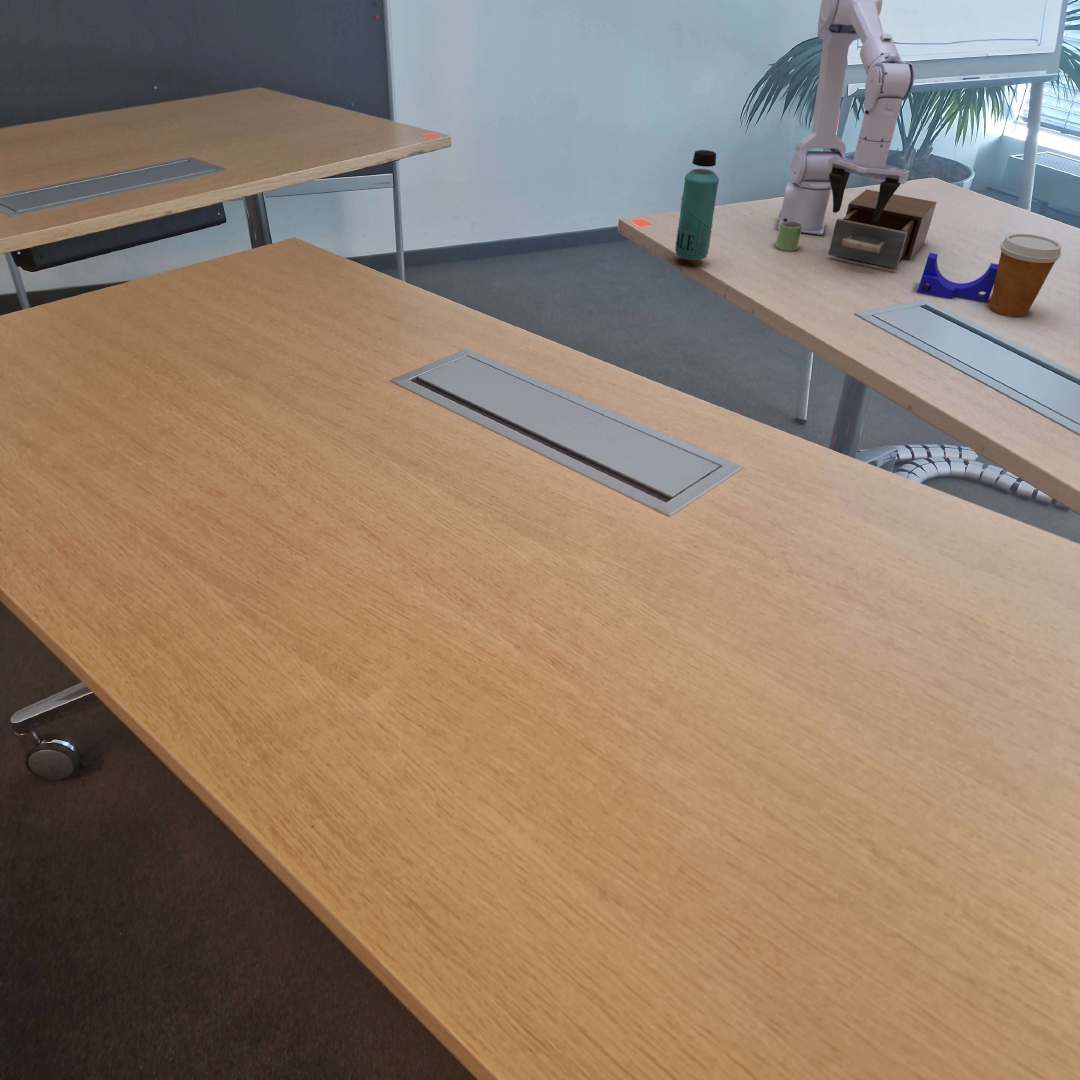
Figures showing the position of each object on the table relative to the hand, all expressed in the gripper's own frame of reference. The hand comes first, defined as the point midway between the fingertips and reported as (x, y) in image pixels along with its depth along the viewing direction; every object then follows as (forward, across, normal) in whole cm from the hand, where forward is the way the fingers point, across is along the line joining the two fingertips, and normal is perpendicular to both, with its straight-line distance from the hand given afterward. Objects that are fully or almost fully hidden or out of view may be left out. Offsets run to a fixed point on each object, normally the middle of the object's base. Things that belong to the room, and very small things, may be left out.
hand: (855, 215), depth 166 cm
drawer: (+8, +3, +5) cm, 10 cm away
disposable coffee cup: (+9, +31, -3) cm, 33 cm away
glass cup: (+9, -13, +2) cm, 16 cm away
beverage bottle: (+10, -24, -20) cm, 32 cm away
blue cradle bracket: (+9, +21, -2) cm, 23 cm away
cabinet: (+9, +2, +18) cm, 20 cm away
